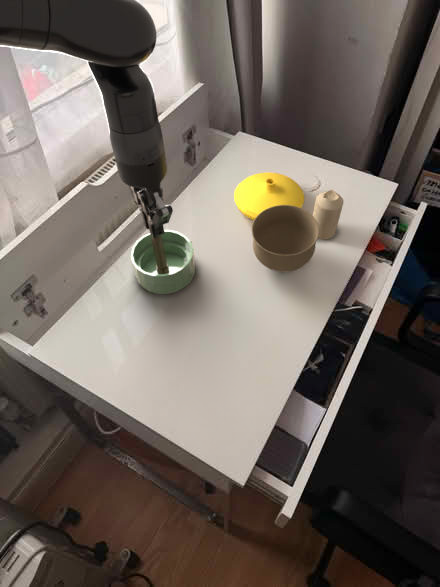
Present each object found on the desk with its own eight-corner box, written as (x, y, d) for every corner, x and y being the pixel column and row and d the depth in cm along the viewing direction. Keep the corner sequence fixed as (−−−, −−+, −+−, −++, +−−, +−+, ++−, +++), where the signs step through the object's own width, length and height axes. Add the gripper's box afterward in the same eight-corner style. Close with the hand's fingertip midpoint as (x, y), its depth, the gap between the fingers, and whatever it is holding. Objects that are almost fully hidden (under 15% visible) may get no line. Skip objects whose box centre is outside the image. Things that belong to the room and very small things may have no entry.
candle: (314, 218, 97) (322, 182, 89) (338, 226, 95) (348, 190, 87) (306, 235, 94) (313, 199, 86) (330, 242, 92) (340, 207, 84)
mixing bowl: (153, 305, 84) (148, 286, 79) (126, 265, 90) (120, 245, 85) (206, 277, 87) (204, 258, 82) (176, 241, 93) (173, 221, 89)
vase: (234, 183, 105) (234, 158, 99) (300, 183, 104) (304, 159, 98) (233, 229, 95) (233, 205, 90) (305, 231, 95) (310, 206, 89)
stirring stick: (160, 277, 86) (148, 216, 73) (155, 270, 88) (141, 208, 74) (171, 272, 87) (160, 211, 74) (165, 265, 88) (154, 203, 75)
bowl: (237, 267, 89) (238, 232, 81) (272, 231, 95) (275, 195, 87) (290, 296, 84) (296, 262, 76) (323, 256, 90) (332, 221, 82)
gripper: (96, 133, 67) (119, 217, 81) (136, 181, 60) (154, 264, 73) (140, 118, 69) (155, 201, 83) (183, 162, 62) (192, 245, 76)
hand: (154, 230), depth 78 cm, fingers closed on stirring stick, 2 cm apart
